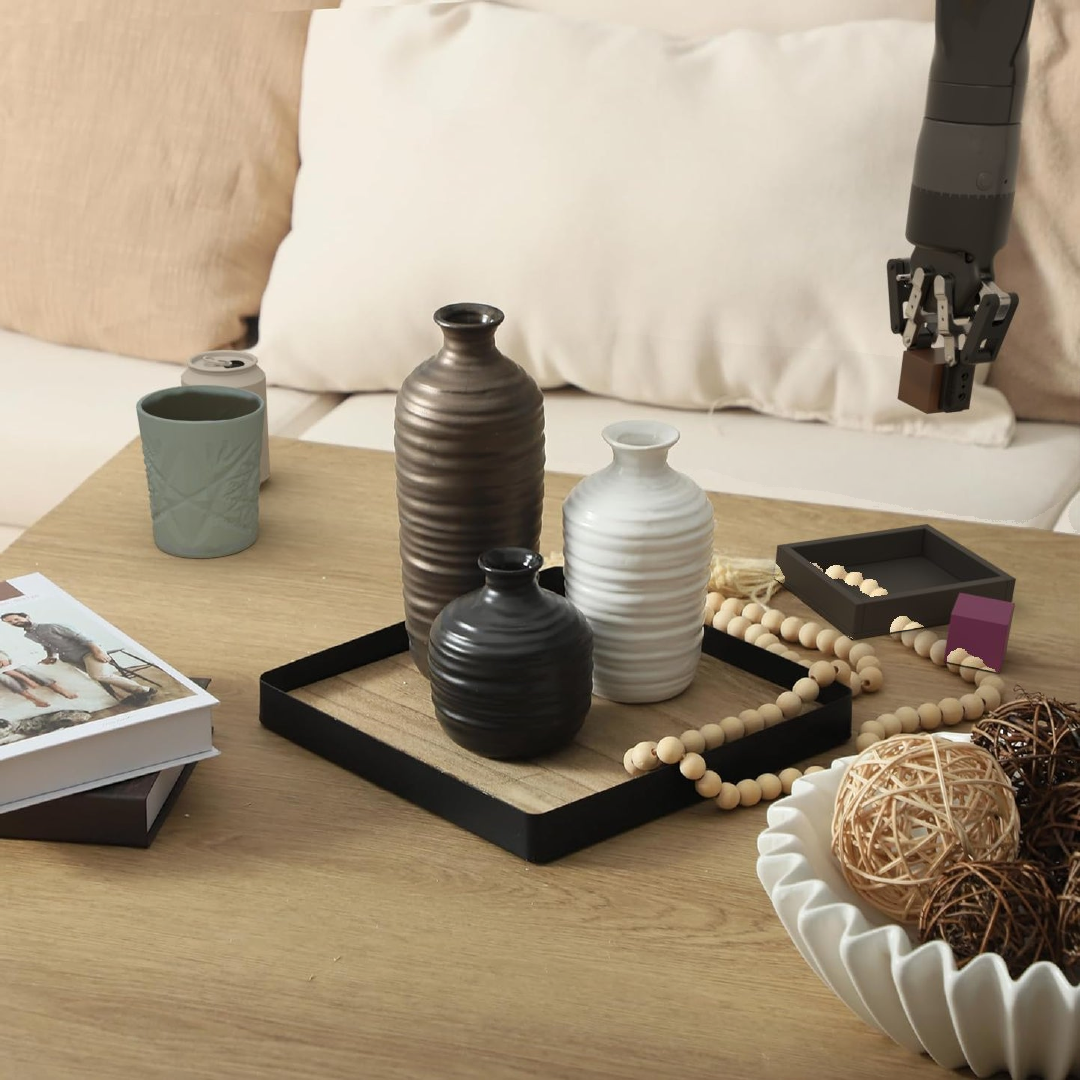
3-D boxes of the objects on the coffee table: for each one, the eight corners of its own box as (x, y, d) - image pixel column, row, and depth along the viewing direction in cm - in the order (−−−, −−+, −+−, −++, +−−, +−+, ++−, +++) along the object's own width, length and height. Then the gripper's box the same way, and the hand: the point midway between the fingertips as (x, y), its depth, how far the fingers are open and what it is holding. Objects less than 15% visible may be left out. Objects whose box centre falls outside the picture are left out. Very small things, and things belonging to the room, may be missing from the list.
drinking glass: (126, 532, 125) (114, 397, 120) (231, 506, 131) (224, 376, 126) (184, 572, 118) (174, 430, 113) (293, 542, 124) (288, 406, 119)
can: (266, 498, 133) (260, 370, 128) (182, 498, 132) (173, 369, 127) (273, 468, 140) (268, 346, 135) (193, 468, 139) (185, 345, 134)
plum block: (951, 640, 111) (959, 592, 109) (1006, 651, 110) (1014, 602, 108) (943, 662, 108) (951, 613, 106) (999, 674, 106) (1008, 624, 105)
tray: (922, 555, 125) (927, 523, 124) (1010, 613, 116) (1016, 578, 114) (773, 578, 120) (776, 544, 119) (851, 640, 110) (856, 604, 109)
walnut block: (938, 394, 119) (945, 346, 117) (969, 409, 115) (976, 360, 114) (897, 399, 117) (903, 350, 116) (926, 414, 114) (933, 364, 112)
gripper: (1068, 196, 105) (1030, 425, 112) (947, 164, 117) (920, 373, 124) (981, 200, 102) (948, 435, 109) (867, 168, 114) (843, 380, 121)
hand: (933, 401), depth 116 cm, fingers closed on walnut block, 4 cm apart
